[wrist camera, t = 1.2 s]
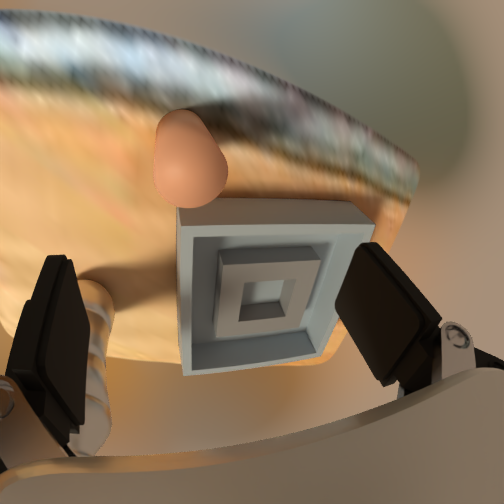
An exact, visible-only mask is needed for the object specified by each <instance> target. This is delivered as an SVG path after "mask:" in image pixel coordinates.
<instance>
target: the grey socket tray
mask: <svg viewBox="0 0 504 504" xmlns="http://www.w3.org/2000/svg"><path fill="white" fill-rule="evenodd" d="M375 225H376V224H374V223H373V222H372V221H371V220H370V219H369V218H368V217H367V216H366V215H365V214H364V213H363V212H362V211H360V210H359V209H358V208H357V207H356V206H355V205H354V204H353V203H352V202H350V201H335V200H311V199H278V198H215V199H214V200H212V201H211V202H209V203H207V204H205V205H203V206H200V207H196V208H181V207H177V221H176V284H177V320H178V342H179V350H180V357H181V364H182V370H183V376H189V375H199V374H209V373H218V372H227V371H234V370H242V369H250V368H256V367H263V366H270V365H276V364H282V363H288V362H293V361H299V360H304V359H309V358H314V357H319V356H321V355H322V353H323V351H324V349H325V347H326V344H327V342H328V340H329V338H330V336H331V334H332V332H333V329H334V327H335V325H336V323H337V320H338V318H339V315H338V314H337V312H336V310H335V300H336V298H337V295H338V293H339V290H340V288H341V285H342V283H343V280H344V278H345V275H346V272H347V270H348V267H349V265H350V262H351V259H352V257H353V254H354V251H355V249H356V248H357V247H358V246H359V245H360V244H361V243H363V242H370V239H371V236H372V233H373V231H374V228H375Z"/></svg>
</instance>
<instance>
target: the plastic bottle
mask: <svg viewBox="0 0 504 504" xmlns="http://www.w3.org/2000/svg"><path fill="white" fill-rule="evenodd" d="M77 281H78V285H79V288H80V292H81V296H82V299H83V302H84V306H85V309H86V312H87V316H88V319H89V322H90V340H89V350H88V362H87V376H86V396H85V423H84V425H80V434H70V442H69V443H68V445H69V446H70V447H71V449H72V450H73V451H74V452H75V454H76V455H77V456H78V457H92V456H95V454H96V452H97V451H98V450H99V449H100V447H102V445H103V444H104V443H105V441H106V439H107V438H108V436H109V434H110V430H111V427H112V419H111V411H110V405H109V399H108V392H107V386H106V353H107V346H108V340H109V335H110V332H111V329H112V326H113V321H114V315H115V313H114V305H113V300H112V298H111V296H110V294H109V293H108V291H107V290H106V289H105V288H104V287H103V286H102V285H100V284H99V283H97V282H95V281H92V280H87V279H80V280H77Z"/></svg>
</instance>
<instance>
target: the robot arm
mask: <svg viewBox="0 0 504 504" xmlns="http://www.w3.org/2000/svg"><path fill="white" fill-rule="evenodd" d="M335 310H336V312H337V314H338V315H339V317H340V319H341V320H342V322H343V324H344V325H345V327H346V329H347V330H348V332H349V334H350V335H351V337H352V339H353V340H354V342H355V344H356V346H357V347H358V349H359V351H360V353H361V354H362V356H363V357H364V359H365V361H366V363H367V365H368V366H369V368H370V370H371V372H372V373H373V375H374V377H375V378H376V379H377V380H379V381H380V382H381V384H382V386H383V387H385V386H388V385H391V384H394V383H395V382H396V380H398V381H399V383H400V384H399V389H398V395H397V400H394V401H392V402H389V403H387V404H384V405H381V406H379V407H376V408H373V409H370V410H368V411H365V412H362V413H359V414H357V415H354V416H350V417H347V418H345V419H341V420H338V421H335V422H332V423H328V424H325V425H321V426H318V427H314V428H311V429H307V430H303V431H300V432H296V433H291V434H288V435H283V436H279V437H275V438H270V439H265V440H260V441H255V442H250V443H245V444H239V445H234V446H227V447H221V448H214V449H206V450H198V451H190V452H179V453H169V454H168V453H167V454H155V455H139V456H92V457H78V456H77V455H76V454H75V452H74V451H73V450H72V449H71V447H70V446H69V445H68V443H69V442H70V434H80V425H84V423H85V396H86V376H87V362H88V350H89V340H90V322H89V319H88V316H87V312H86V309H85V306H84V302H83V299H82V296H81V292H80V288H79V285H78V281H77V277H76V273H75V269H74V265H73V262H72V260H71V259H67V257H66V256H65V255H48V256H47V257H46V259H45V262H44V264H43V267H42V270H41V272H40V275H39V278H38V280H37V283H36V286H35V289H34V292H33V294H32V297H31V300H27V301H26V303H25V305H24V307H23V310H22V313H21V316H20V320H19V323H18V326H17V329H16V333H15V336H14V340H13V344H12V348H11V351H10V356H9V359H8V364H7V369H6V372H5V376H4V375H0V504H504V361H503V360H501V359H499V358H497V357H495V356H493V355H490V354H488V353H486V352H484V351H481V350H479V349H477V348H475V347H474V345H473V340H472V337H471V335H470V334H469V332H468V331H467V330H466V329H465V328H464V327H462V326H461V325H459V324H458V323H455V322H446V323H444V324H443V325H442V327H441V328H439V326H438V324H439V323H440V321H441V320H442V317H441V316H440V315H439V313H438V312H437V311H436V310H435V308H434V307H433V306H432V305H431V304H430V302H429V301H428V300H427V299H426V298H425V296H424V295H423V294H422V293H421V292H420V290H419V289H418V288H417V287H416V286H415V284H414V283H413V282H412V281H411V280H410V279H409V277H408V276H407V275H406V274H405V273H404V272H403V271H402V269H401V268H400V267H399V266H398V265H397V264H396V263H395V262H394V261H393V259H392V258H391V257H390V256H389V255H388V254H387V253H386V252H385V251H384V250H383V248H382V247H381V246H380V245H379V244H378V243H376V242H363V243H361V244H360V245H359V246H358V247H357V248H356V249H355V251H354V254H353V257H352V259H351V262H350V265H349V267H348V270H347V272H346V275H345V278H344V280H343V283H342V285H341V288H340V290H339V293H338V295H337V298H336V300H335Z"/></svg>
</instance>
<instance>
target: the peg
mask: <svg viewBox="0 0 504 504" xmlns="http://www.w3.org/2000/svg"><path fill="white" fill-rule="evenodd" d="M227 177H228V165H227V161H226V159H225V157H224V155H223V153H222V152H221V150H220V148H219V147H218V145H217V144H216V142H215V141H214V139H213V137H212V136H211V134H210V133H209V131H208V130H207V128H206V126H205V125H204V123H203V122H202V120H201V119H200V117H199V116H198V115H197V114H195V113H194V112H192V111H189V110H184V109H179V110H174V111H171V112H169V113H168V114H166V115H165V116H164V117H163V118H162V119H161V120H160V122H159V124H158V126H157V130H156V141H155V155H154V171H153V178H154V184H155V187H156V189H157V191H158V193H159V194H160V196H161V197H162V198H163V199H164V200H166V201H167V202H168V203H170V204H172V205H174V206H177V207H181V208H196V207H200V206H203V205H205V204H207V203H209V202H211V201H212V200H214V199H215V198H216V197H217V196H218V195H219V194H220V193H221V191H222V190H223V188H224V186H225V184H226V181H227Z"/></svg>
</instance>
